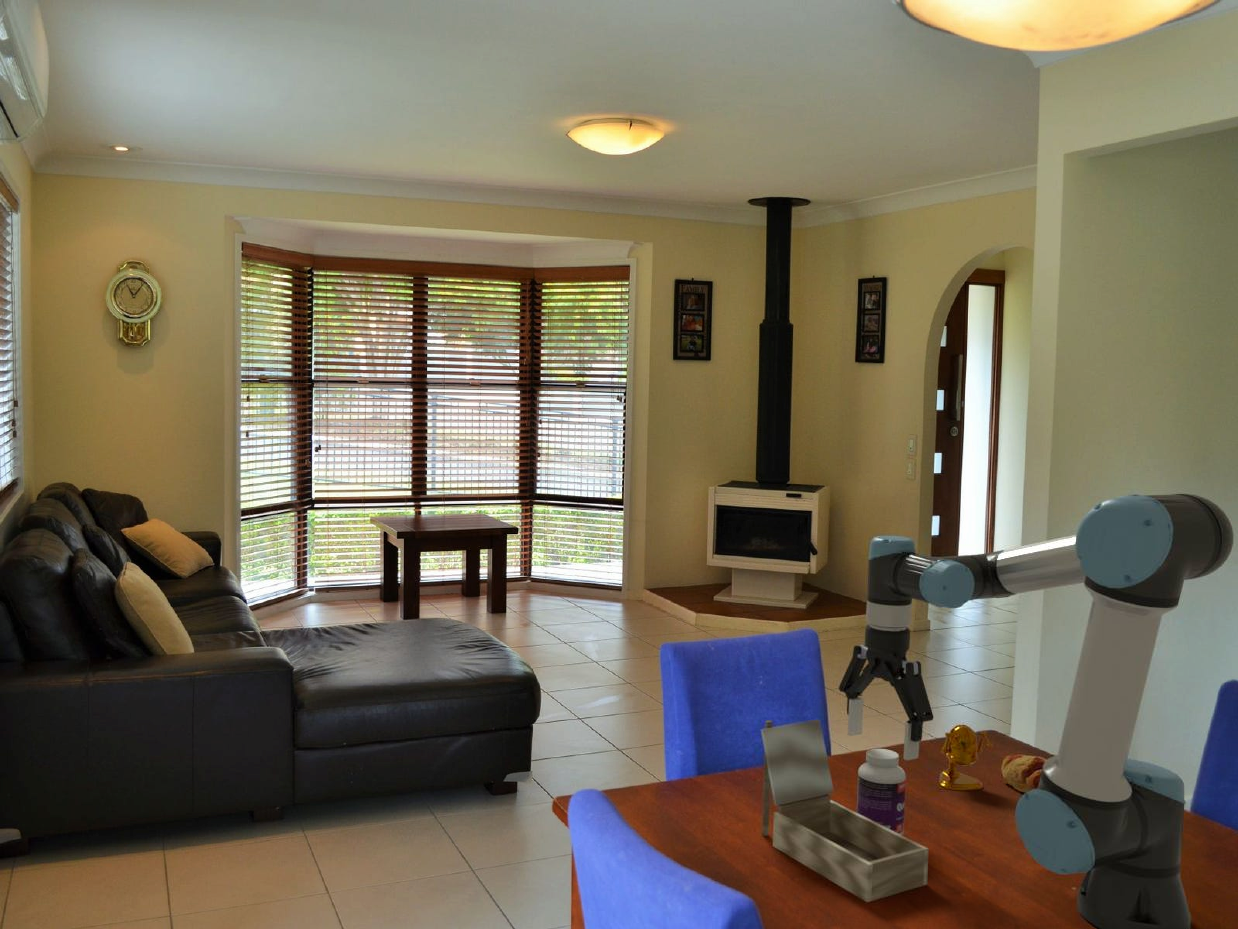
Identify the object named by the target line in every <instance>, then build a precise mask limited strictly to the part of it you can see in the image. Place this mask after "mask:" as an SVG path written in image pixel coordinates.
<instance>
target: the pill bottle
mask: <svg viewBox="0 0 1238 929" xmlns="http://www.w3.org/2000/svg"><path fill="white" fill-rule="evenodd" d="M899 758H900V755H899V753H898V752H896V751H894V750H890V749H886V748H871V749H867V751H866V753H865V761H866V762H864V763H863V764H861V765H860V767H859V768H858V771H857V772H858V773H857V774H858V775H857V776H858V777H857V805H856V813H858V814H860V815H862V816H864V817H866V818H868V819H870V820H872V821H874V822H876V823H878V824H880V825H882V826H884V827H886V828H888V829H890V830H892V831H894V832H896V833H898V834H900V835H902V836H904V830H905V829H904V828H905V827H904V826H905V806H906V804H905V803H906V783H907V782H906V781H907V780H906V776H907V775H906V773H905V770H904V769H903V768H902V767H901V766H899V762H900V760H899Z"/></svg>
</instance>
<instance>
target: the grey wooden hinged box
mask: <svg viewBox="0 0 1238 929" xmlns="http://www.w3.org/2000/svg"><path fill="white" fill-rule="evenodd" d="M821 723H822V722H821V720H820V718H819V719H812V720H807V721H801V722H795V723H789V724H785V725H778V726H774V724H773V721H772V720H765V726H764V728H762V729H760V732H761V737H762V743H763V749H764V756H763V757H764V759H763V761H764V762H763V787H762V788H763V789H762V793H763V794H762V816H761V817H762V819H761V835H762V836H763V837H768V836H770V812H771V811H770V808H771V807H770V806H771V794H772V799H773V805H774V806H775V807H776V806H777V811H776V812H773V825H772V826H773V827H772V828H773V829H772V830H773V833H772V847H774V848H775V849H777V850H778V851H780V852H782V853H783V854H786V855H787V856H789V857H790V858H792V859H794V860H796V861H797V862H799V863H800V864H802V865H804V866H805V867H807V868H808V869H811V870H812V871H814V872H816V873H817V874H819V875H821V876H822V877H823V878H825V879H827V880H829V881H830V882H833V883H834V884H836V885H837V886H839V887H841V888H842V889H844V890H845V891H847V892H849V893H851V894H852V895H854V896H856V897H858V898H859V899H861V900H862V901H864V902H866V903H871V902H873V901H876V900H879V899H883V898H887V897H889V896H893V895H897V894H899V893H903V892H906V891H910V890H913V889H916V888H921V887H924V886H926V885H928V871H929V870H928V869H929V866H928V864H929V848H928V847H927V846H924V845H922V844H920V843H918V842H916V841H914V840H912V839H910V838H908V837H906V836H904V835H900V834H898V833H896V832H894V831H892V830H890V829H888V828H886V827H884V826H882V825H880V824H878V823H876V822H874V821H872V820H870V819H868V818H866V817H864V816H862V815H860V814H858V813H857V811H854V810H853V809H850V808H848V807H846V806H844V805H842V804H840V803H838V802H836V801H834V800H833V799H831V794H834V793H835V790H834V786H833V780H832V775H831V771H830V765H829V760H828V754H827V750H826V744H825V739H824V734H823V729H822V724H821Z"/></svg>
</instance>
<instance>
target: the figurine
mask: <svg viewBox="0 0 1238 929" xmlns="http://www.w3.org/2000/svg"><path fill="white" fill-rule="evenodd" d="M944 735H945V737H946V738H945V740H944V744H943V746H942V748H940V749H941V750H940V752H941V754H942V755H945V756H946V758H947V760H948V768H947V769H945V770H942V771H941V772H940V775H939V777H938V778H939V779H938V785H939V786H940V787H941V788H943V789H945V790H951V791H959V792H960V791H961V792H962V791H966V792H967V791H977V790H978V791H979V790H982V789H983V787H984V786H983V785H984V784H983V783H982V782H981V781H980V780H979V779H978V778H976V777H972V776H970V775H968V774H965V773H962V772H959V771H958V770H957V767H956V766H963V767H965V766H967V767H968V766H971V765H973V764H974V763H976V761H978V758H979V756H978V754H982V753H983V744H984V740H985V742H986V748H990V749H992V748H994V745H993V744H992V743H991V742H990V740H989V738H988V737H987V736H988V733H987V731H980V732H979V735H980V739H979V741H978V737H977V734H976V732H975V731H974V730H973V729H972V728H971V727H970V726H968V725H966V724H957V725H955V726H954V727H953V728H951V730H950V731H949V732H945V734H944Z"/></svg>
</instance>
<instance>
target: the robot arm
mask: <svg viewBox="0 0 1238 929" xmlns="http://www.w3.org/2000/svg"><path fill="white" fill-rule="evenodd" d="M1234 537H1235V536H1234V531H1233V526H1232V524H1231V521H1230V519H1229V517H1228V516H1227V514H1226V513H1225V511H1224V510H1222V508H1220V507H1219V506H1218V504H1216V503H1215V502H1213V501H1211V500H1210V499H1208V498H1205V497H1202V496H1200V495H1197V494H1193V493H1192V494H1190V493H1175V494H1174V493H1173V494H1151V495H1150V494H1149V495H1146V494H1145V495H1143V494H1137V493H1136V494H1135V493H1134V494H1127V495H1123V496H1122V495H1121V496H1119V497H1113V498H1110V499H1109V498H1107V499H1106V500H1104V501H1102V502H1100V503H1098V504H1097V505H1095V506H1093V507H1092V508H1091V509H1090V510H1089V511H1088V512H1087V513H1086V514H1085V515H1084V516H1083V518H1082V520H1081V522H1080V524H1079V526H1078V528H1077V531H1076V533H1075V534H1072V535H1066V536H1063V537H1058V538H1052V539H1048V540H1043V541H1040V542H1039V541H1038V542H1035V543H1030V544H1025V545H1021V546H1016V547H1011V548H1006V549H1002V550H997V551H991V552H987V553H979V554H966V555H965V554H964V555H952V556H951V555H949V556H930V555H924V554H919V553H916V551H917V550H916V548H915V547H916V546H915V544H916V543H915V541H914V539H912V538H910V537H906V536H902V535H901V536H900V535H877V536H875V537H873V538H872V539H871V541H870V545H869V551H868V552H869V554H868V559H867V563H868V567H867V568H868V569H867V592H866V595H867V596H866V608H865V609H866V612H865V623H867V625H866V626H865V630H864V631H865V632H864V633H865V634H864V644H858V645H854V646H853V649H852V650H853V652H852V657H851V660H850V662H849V664H848V665H847V668H846V670H845V673H844V675H843V677H842V679H841V681H840V684H839V686H838V690H839V691H840V693H844V694H845V696H846V698H847V702H846V713H847V715H848V718H847V721H848V722H847V723H848V724H847V736H849V737H853V736H857V735H858V736H859V735H862V734H863V720H864V719H863V718H864V716H863V715H864V713H863V712H864V698H863V697H862V696H863V692H864V691H865V690H866V689H867V688H868V686H869V685H870V684H872V682H873V681H874V680H875V679H882V680H883V681H885V682H889V685H890V686H891V687H893V688H894V690H895V692H896V694H897V697H898V699H899V701H900V703H901V706H902V707H903V709H904V711H905V714H906V716H907V717H908V720H905V722H904V723H905V724H904V738H903V739H904V742H903V743H904V744H903V760H904V761H911V760H916V759H919V752H920V742H921V741H922V739H923V728H924V727H923V725H924V723H926V722H930V721H933V720H934V714H933V710H932V707H931V702H930V700H929V696H928V694H927V693H928V692H927V690H926V686H925V682H924V680H923V675H922V664H921V662H920V661H919V660H917V661H916V660H915V661H909V660H907V652H908V651H909V649H910V644H911V643H910V642H911V629H910V628H909V626H911V620H912V618H911V617H912V603H913V600H916V601H919V602H923V603H926V604H930V605H932V606H935V607H937V608H948V609H959V608H961V607H963V606H964V605H965V604H966V603H968V602H969V601H975V600H983V599H984V600H986V599H1003V598H1009V597H1012V596H1017V595H1018V594H1023V593H1030V592H1031V593H1032V592H1037V591H1042V590H1043V591H1044V590H1048V589H1054V588H1059V587H1067V586H1071V585H1072V586H1074V585H1077V584H1083V586H1084V588H1085V589H1086V590H1087V591H1088V593H1089V594H1090V596H1091V597H1092V601H1091V607H1090V611H1089V614H1088V615H1089V616H1088V619H1087V622H1086V624H1087V625H1086V627H1085V633H1084V637H1083V641H1082V646H1081V650H1080V655H1079V659H1078V664H1077V669H1076V673H1075V677H1074V682H1073V687H1072V689H1071V690H1072V691H1071V695H1070V700H1069V704H1068V709H1067V712H1066V715H1065V716H1066V717H1065V722H1064V724H1063V726H1064V727H1063V730H1062V733H1061V739H1060V743H1059V747H1058V748H1059V749H1058V753H1057V754H1056V755H1054V756H1051V757H1049V758H1048V759H1046V761H1045V763H1044V765H1043V769H1042V773H1041V777H1040V782H1039V786H1038V788H1037V789H1032V790H1030V791H1028V792H1027V793H1024V794H1023V795H1022V796H1021V797H1020V798H1019V800H1018V801H1017V804H1016V807H1015V815H1014V816H1015V825H1016V829H1017V833H1018V835H1019V837H1020V839H1021V840H1022V841H1023V844H1024V847H1025V849H1026V850H1027V852H1028V853H1029V855H1030V856H1031V857H1032V858H1033V859H1034V860H1035V861H1036V862H1037V863H1038V864H1039V865H1040V866H1042V867H1043V868H1045V869H1046V870H1048V871H1050V872H1052V873H1055V874H1058V875H1072V874H1083V873H1085V875H1084V877H1083V879H1082V881H1081V884H1080V886H1079V888H1078V892H1077V910H1078V912H1079V914H1080V915H1081V917H1082V918H1084V920H1086V921H1087V922H1089V923H1090V924H1091V925H1094V926H1095V927H1096V928H1099V929H1191V925H1192V924H1191V921H1192V920H1191V919H1192V916H1191V911H1190V909H1189V906H1188V901H1187V900H1188V899H1187V897H1186V894H1185V889H1184V886H1183V883H1182V879H1181V860H1182V859H1181V858H1182V857H1181V856H1182V844H1183V842H1182V841H1183V830H1184V829H1183V827H1184V816H1185V815H1184V813H1185V805H1186V800H1185V783H1184V781H1183V779H1182V778H1181V777H1180V776H1179V774H1177V773H1176V772H1173V771H1172V770H1171V769H1167V768H1165V767H1162V766H1161V765H1157V764H1153V763H1150V762H1146V761H1143V760H1137V759H1132V758H1128V757H1129V753H1130V750H1131V749H1130V748H1131V745H1132V741H1133V738H1134V732H1135V728H1136V725H1137V720H1138V717H1139V712H1140V708H1141V704H1142V698H1143V695H1144V691H1145V688H1146V684H1147V679H1148V674H1149V671H1150V666H1151V662H1152V660H1153V656H1154V655H1153V653H1154V650H1155V647H1156V641H1157V637H1158V635H1159V634H1158V633H1159V631H1160V625H1161V622H1162V617H1163V616H1164V615H1165V614H1167V613H1169V612H1170V611H1171V612H1172V611H1173V610H1175V609H1177V608H1178V606H1179V604H1180V603H1179V602H1180V598H1181V594H1182V590H1183V587H1184V582H1185V581H1186V580H1187V581H1189V580H1195V579H1200V578H1202V577H1206V576H1208V575H1210V574H1212V573H1214V572H1216V571H1217V570H1218V569H1220V568H1221V567H1222V566H1223V565H1224V564H1225V562H1226V561H1227V560H1228V559H1229V557H1230V555H1231V553H1232V550H1233V546H1234ZM866 662H868V663H867V664H866ZM865 664H866V666H865ZM864 666H865V667H864Z"/></svg>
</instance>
